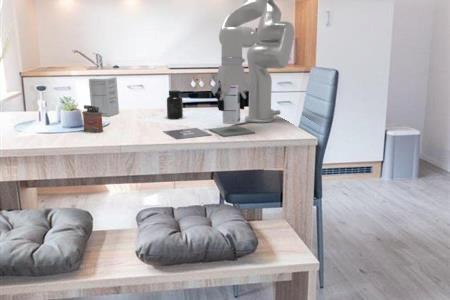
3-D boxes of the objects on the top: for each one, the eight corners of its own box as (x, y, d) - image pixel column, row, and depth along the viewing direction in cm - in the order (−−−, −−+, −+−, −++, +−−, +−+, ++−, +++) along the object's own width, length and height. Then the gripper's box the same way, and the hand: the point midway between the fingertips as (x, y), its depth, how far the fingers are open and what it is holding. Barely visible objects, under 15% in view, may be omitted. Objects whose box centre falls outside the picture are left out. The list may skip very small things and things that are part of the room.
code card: (196, 128, 178) (196, 127, 178) (212, 135, 166) (212, 134, 166) (162, 131, 171) (162, 131, 171) (176, 139, 159) (176, 138, 159)
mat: (237, 127, 180) (237, 125, 180) (255, 133, 169) (255, 131, 169) (208, 130, 174) (208, 128, 174) (224, 136, 163) (224, 135, 163)
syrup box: (237, 124, 167) (238, 84, 164) (222, 123, 168) (222, 84, 165) (240, 121, 173) (240, 83, 169) (225, 121, 174) (225, 82, 170)
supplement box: (119, 113, 211) (117, 76, 207) (110, 116, 202) (108, 78, 198) (100, 112, 213) (98, 76, 209) (90, 115, 204) (88, 78, 200)
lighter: (105, 131, 172) (103, 105, 170) (100, 133, 169) (98, 106, 167) (87, 129, 175) (85, 104, 172) (81, 131, 172) (79, 105, 169)
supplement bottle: (169, 116, 203) (169, 89, 200) (184, 116, 202) (184, 89, 199) (165, 119, 197) (164, 91, 194) (180, 119, 196) (179, 91, 193)
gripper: (247, 61, 172) (246, 106, 176) (205, 62, 164) (205, 110, 168) (257, 62, 166) (256, 109, 170) (215, 63, 158) (215, 112, 162)
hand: (231, 109), depth 169 cm, fingers closed on syrup box, 8 cm apart
